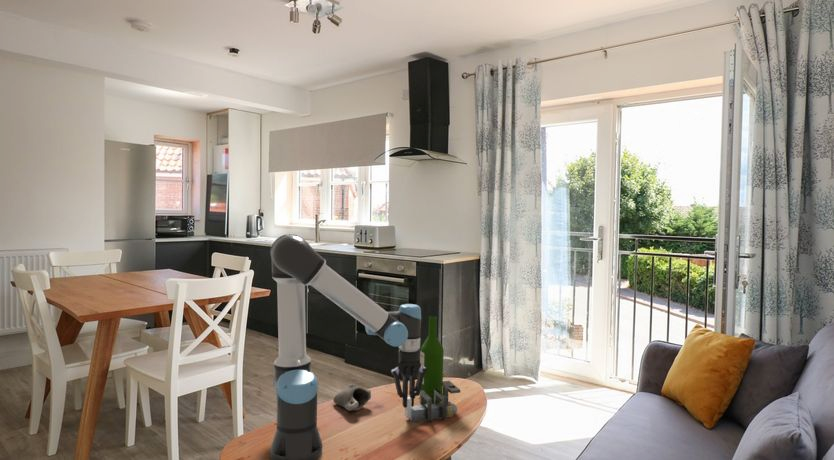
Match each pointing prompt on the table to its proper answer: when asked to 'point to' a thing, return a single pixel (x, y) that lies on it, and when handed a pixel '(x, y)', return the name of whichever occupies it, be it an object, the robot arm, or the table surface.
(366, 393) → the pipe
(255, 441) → the table surface
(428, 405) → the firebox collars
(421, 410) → the grey sharpening stone
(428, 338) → the wine bottle
